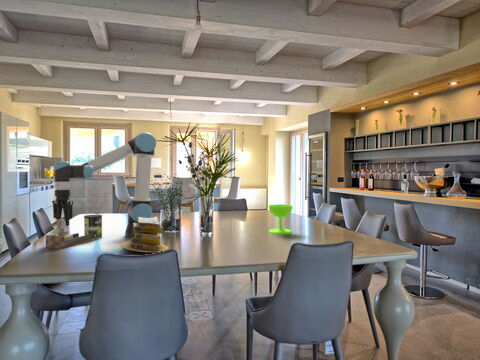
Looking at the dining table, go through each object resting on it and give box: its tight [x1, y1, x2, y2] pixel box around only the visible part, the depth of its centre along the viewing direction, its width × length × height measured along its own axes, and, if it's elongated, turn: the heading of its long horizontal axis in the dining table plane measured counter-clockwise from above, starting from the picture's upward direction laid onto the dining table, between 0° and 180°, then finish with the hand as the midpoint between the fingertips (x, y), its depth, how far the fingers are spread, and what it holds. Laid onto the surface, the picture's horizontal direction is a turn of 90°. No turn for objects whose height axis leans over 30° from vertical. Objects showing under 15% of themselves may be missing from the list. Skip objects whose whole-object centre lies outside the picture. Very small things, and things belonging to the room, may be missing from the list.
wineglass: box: [268, 203, 293, 235], centre depth 232 cm, size 16×16×18 cm
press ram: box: [56, 218, 74, 240], centre depth 191 cm, size 8×7×13 cm
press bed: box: [45, 232, 93, 250], centre depth 195 cm, size 12×21×6 cm, turn 158°
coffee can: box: [83, 214, 103, 241], centre depth 211 cm, size 10×10×14 cm
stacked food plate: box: [119, 216, 169, 253], centre depth 182 cm, size 25×25×17 cm
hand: (63, 231), depth 190 cm, fingers closed on press ram, 4 cm apart
